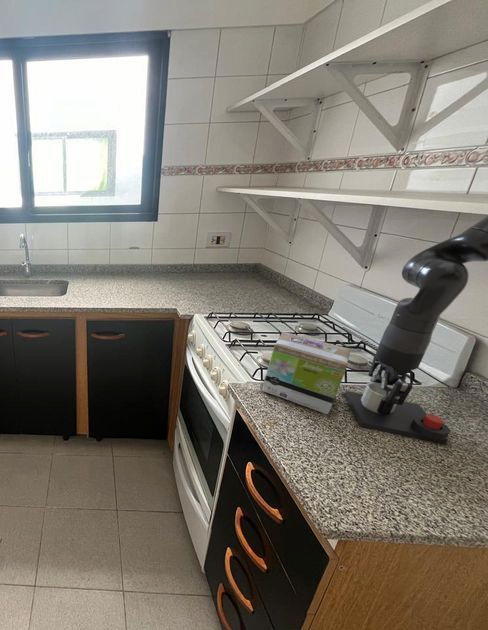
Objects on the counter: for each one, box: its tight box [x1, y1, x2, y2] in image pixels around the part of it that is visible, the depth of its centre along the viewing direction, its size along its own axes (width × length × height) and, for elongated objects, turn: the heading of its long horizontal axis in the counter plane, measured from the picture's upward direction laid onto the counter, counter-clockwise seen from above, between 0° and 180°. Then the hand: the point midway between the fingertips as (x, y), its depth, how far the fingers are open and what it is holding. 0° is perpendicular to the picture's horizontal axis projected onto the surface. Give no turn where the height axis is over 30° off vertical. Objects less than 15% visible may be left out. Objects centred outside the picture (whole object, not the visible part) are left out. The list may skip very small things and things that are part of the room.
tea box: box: [261, 331, 351, 415], centre depth 88 cm, size 15×10×15 cm, turn 50°
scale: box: [343, 390, 451, 445], centre depth 82 cm, size 15×14×3 cm
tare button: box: [422, 413, 445, 430], centre depth 76 cm, size 3×3×2 cm
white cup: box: [361, 381, 397, 413], centre depth 83 cm, size 6×6×5 cm
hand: (377, 404), depth 84 cm, fingers closed on white cup, 6 cm apart
